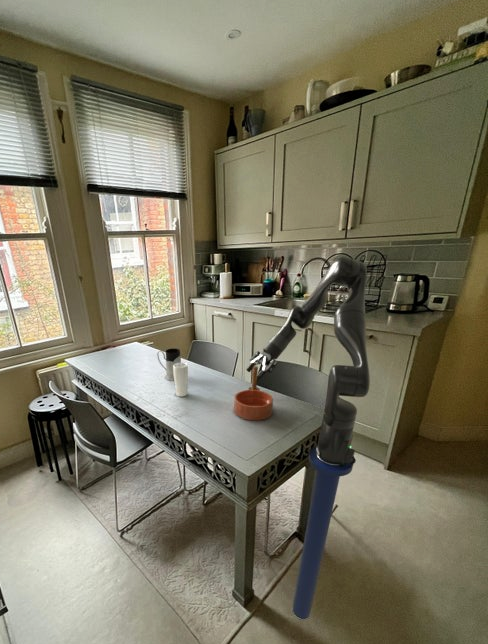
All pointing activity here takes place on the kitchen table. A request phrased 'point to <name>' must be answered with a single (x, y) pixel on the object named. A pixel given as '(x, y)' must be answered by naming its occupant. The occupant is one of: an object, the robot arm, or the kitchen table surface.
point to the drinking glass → (180, 378)
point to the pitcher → (171, 361)
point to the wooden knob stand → (254, 379)
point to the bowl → (253, 404)
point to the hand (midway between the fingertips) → (252, 374)
